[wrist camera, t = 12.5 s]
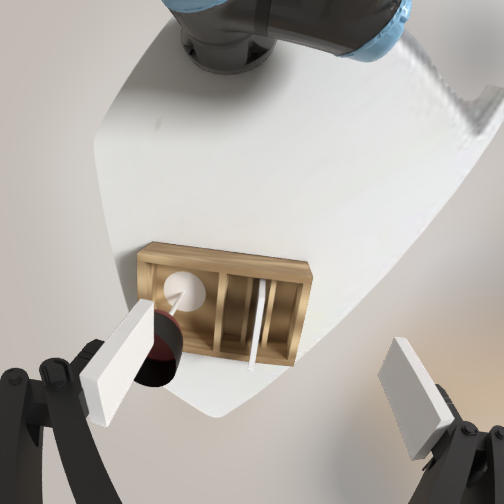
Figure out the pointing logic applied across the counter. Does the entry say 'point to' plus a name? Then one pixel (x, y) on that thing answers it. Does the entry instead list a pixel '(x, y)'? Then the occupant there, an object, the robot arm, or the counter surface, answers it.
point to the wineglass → (170, 329)
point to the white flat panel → (257, 323)
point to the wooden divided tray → (231, 300)
